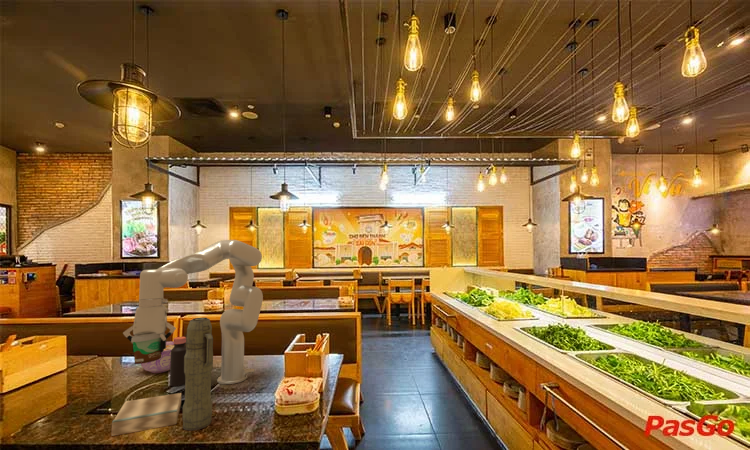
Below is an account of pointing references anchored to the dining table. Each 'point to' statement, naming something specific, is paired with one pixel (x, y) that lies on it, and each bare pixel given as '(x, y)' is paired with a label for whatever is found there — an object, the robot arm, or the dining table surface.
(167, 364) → the bowl of food
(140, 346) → the food container
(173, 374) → the bottle
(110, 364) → the dining table surface
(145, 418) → the dock
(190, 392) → the thermos
